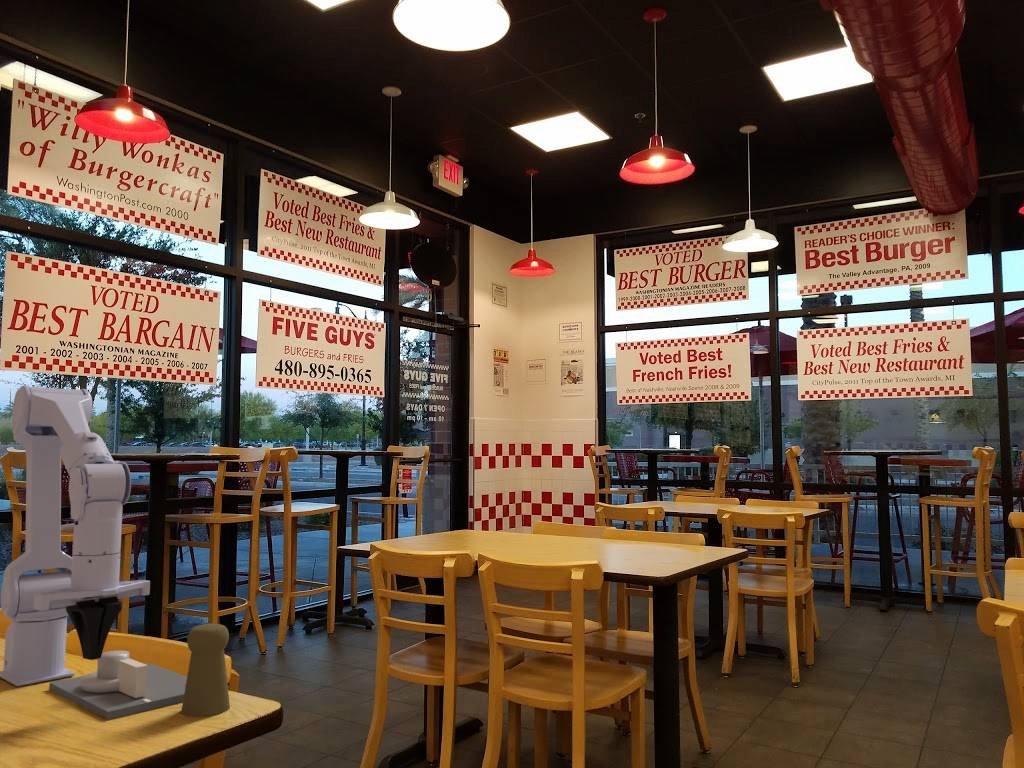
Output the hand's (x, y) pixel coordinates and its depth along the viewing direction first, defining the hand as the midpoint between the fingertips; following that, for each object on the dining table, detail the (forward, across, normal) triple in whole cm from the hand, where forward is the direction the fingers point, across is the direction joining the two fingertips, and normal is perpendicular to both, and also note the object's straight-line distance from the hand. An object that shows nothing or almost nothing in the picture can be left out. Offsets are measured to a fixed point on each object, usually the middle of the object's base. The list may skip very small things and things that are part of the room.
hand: (91, 658), depth 105 cm
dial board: (+7, +8, +4) cm, 11 cm away
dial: (+6, +6, +3) cm, 9 cm away
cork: (+7, +9, -12) cm, 17 cm away
